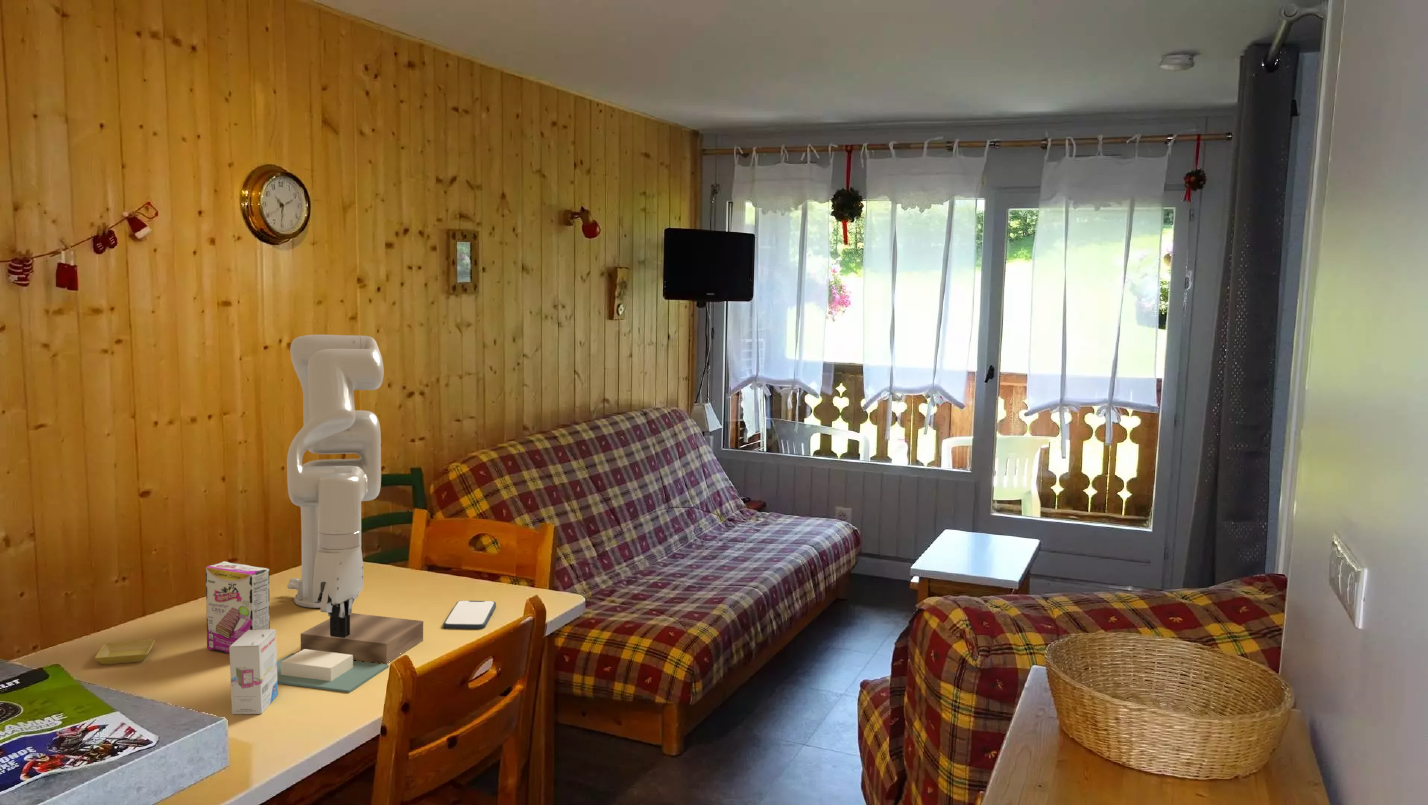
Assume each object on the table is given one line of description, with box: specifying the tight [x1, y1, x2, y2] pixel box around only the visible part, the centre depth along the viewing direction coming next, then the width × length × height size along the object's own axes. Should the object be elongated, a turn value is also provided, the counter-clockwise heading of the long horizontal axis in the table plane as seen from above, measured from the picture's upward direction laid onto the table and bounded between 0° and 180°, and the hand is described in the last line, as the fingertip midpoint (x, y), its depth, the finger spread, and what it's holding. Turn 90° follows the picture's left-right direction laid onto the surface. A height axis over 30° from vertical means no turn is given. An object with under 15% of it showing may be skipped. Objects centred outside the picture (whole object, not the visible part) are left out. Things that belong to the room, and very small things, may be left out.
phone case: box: [442, 600, 497, 630], centre depth 222 cm, size 9×2×16 cm
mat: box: [277, 652, 389, 694], centre depth 187 cm, size 20×13×1 cm, turn 78°
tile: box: [281, 649, 354, 681], centre depth 187 cm, size 10×7×2 cm
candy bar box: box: [205, 561, 271, 654], centre depth 196 cm, size 11×5×16 cm, turn 71°
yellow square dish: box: [94, 639, 156, 665], centre depth 192 cm, size 9×9×2 cm
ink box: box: [229, 628, 279, 715], centre depth 172 cm, size 9×5×12 cm, turn 5°
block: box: [300, 612, 424, 665], centre depth 201 cm, size 18×14×4 cm
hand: (340, 635), depth 193 cm, fingers closed
